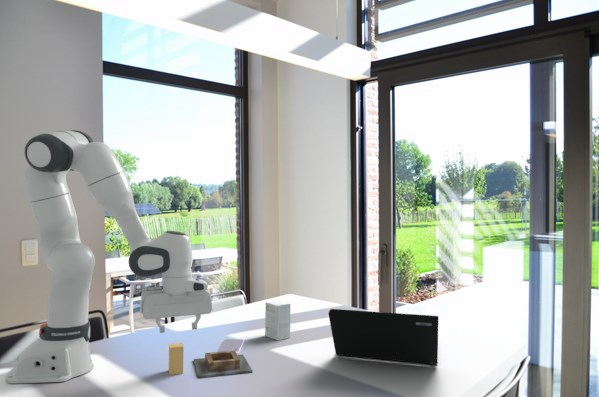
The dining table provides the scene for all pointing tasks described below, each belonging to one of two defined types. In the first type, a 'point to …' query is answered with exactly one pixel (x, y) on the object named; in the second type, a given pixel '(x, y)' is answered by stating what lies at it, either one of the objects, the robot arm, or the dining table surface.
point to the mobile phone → (231, 345)
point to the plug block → (175, 358)
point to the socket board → (221, 364)
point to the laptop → (385, 335)
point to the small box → (277, 320)
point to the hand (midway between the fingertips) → (178, 330)
